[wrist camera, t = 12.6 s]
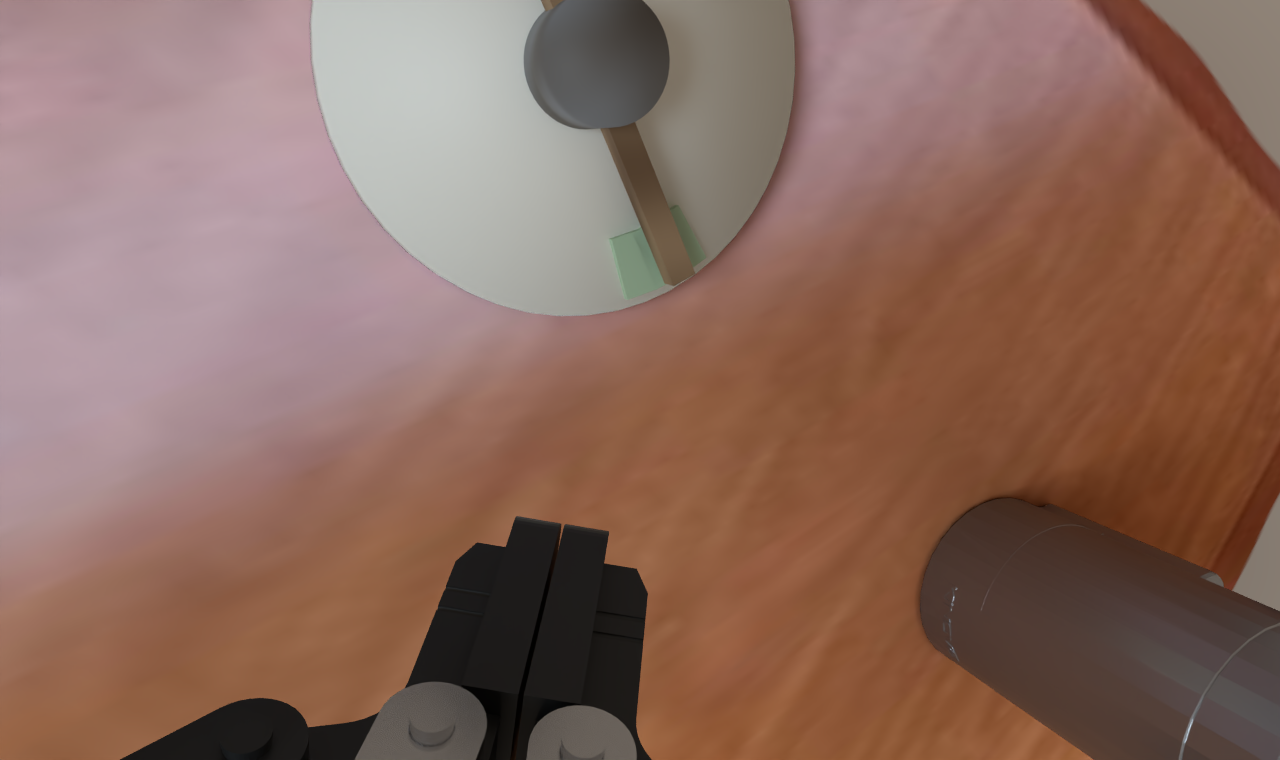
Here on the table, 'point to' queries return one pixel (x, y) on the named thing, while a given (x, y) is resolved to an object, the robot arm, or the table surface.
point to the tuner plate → (546, 144)
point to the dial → (610, 98)
